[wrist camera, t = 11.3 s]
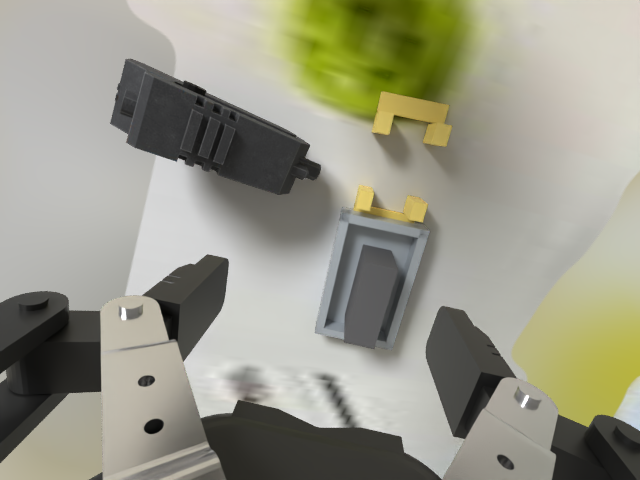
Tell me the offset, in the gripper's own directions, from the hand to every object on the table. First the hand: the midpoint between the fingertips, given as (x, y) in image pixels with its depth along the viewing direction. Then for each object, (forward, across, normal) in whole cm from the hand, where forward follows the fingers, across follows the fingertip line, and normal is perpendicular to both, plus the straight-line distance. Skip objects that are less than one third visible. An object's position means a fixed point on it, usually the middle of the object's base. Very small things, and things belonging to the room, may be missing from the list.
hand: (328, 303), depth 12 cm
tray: (+28, -6, +10) cm, 30 cm away
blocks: (+28, -6, -4) cm, 29 cm away
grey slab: (+27, -6, +11) cm, 30 cm away
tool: (+28, +13, -4) cm, 31 cm away
